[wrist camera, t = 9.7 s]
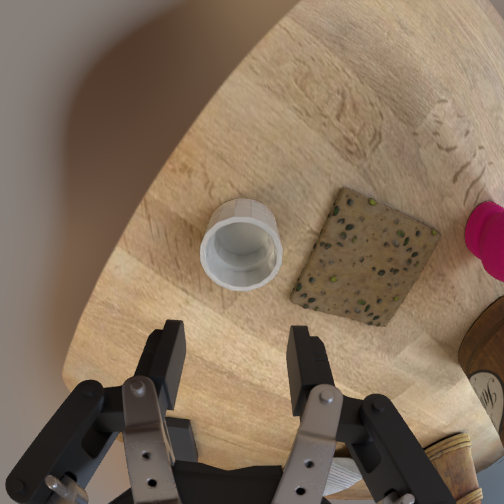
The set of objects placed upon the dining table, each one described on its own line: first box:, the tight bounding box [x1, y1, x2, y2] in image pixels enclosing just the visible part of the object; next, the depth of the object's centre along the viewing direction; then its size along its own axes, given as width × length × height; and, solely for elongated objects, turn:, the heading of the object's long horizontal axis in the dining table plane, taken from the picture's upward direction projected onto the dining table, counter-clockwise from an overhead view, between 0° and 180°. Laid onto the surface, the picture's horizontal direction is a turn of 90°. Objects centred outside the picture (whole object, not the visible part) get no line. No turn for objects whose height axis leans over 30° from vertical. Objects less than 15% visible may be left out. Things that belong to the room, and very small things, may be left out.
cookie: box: [290, 187, 441, 327], centre depth 27 cm, size 12×12×1 cm
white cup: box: [200, 198, 283, 291], centre depth 23 cm, size 6×6×5 cm
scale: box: [122, 417, 198, 462], centre depth 40 cm, size 12×14×4 cm
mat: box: [323, 456, 363, 496], centre depth 47 cm, size 23×24×5 cm
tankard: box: [424, 433, 483, 504], centre depth 41 cm, size 18×24×25 cm
